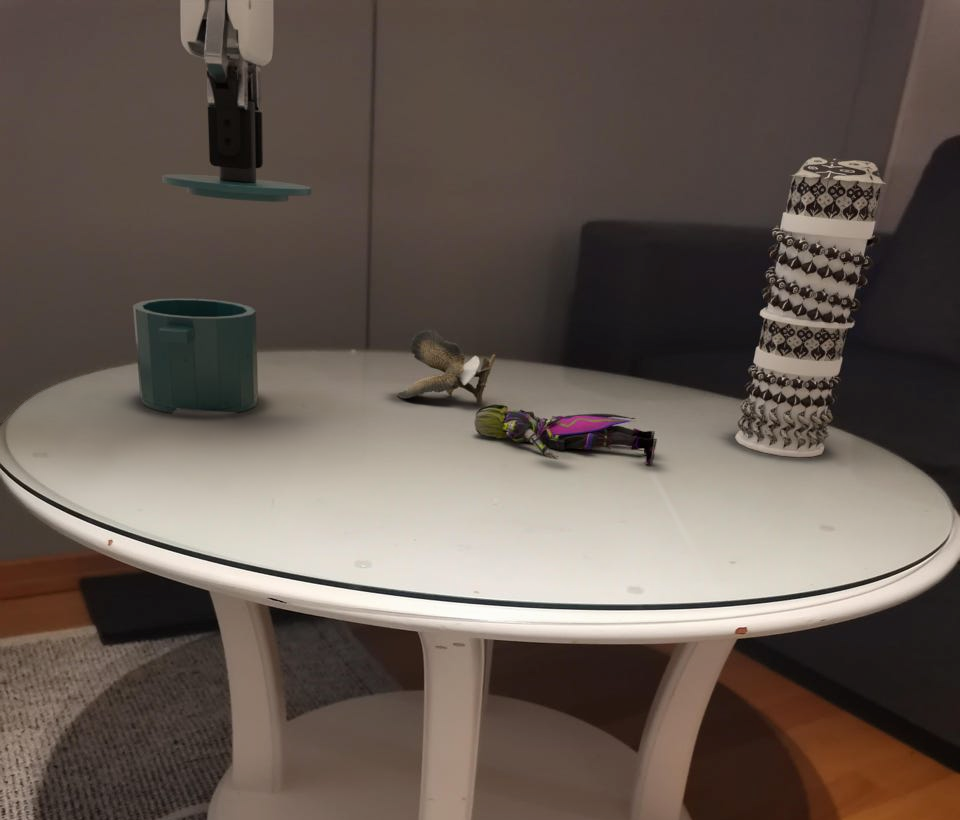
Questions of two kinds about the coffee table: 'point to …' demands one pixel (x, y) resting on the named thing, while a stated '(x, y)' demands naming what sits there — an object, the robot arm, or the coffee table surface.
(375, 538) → the coffee table surface
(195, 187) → the lid
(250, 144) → the robot arm
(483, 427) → the character figure
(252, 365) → the pot
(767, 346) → the decorative candle
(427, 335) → the eagle figurine
